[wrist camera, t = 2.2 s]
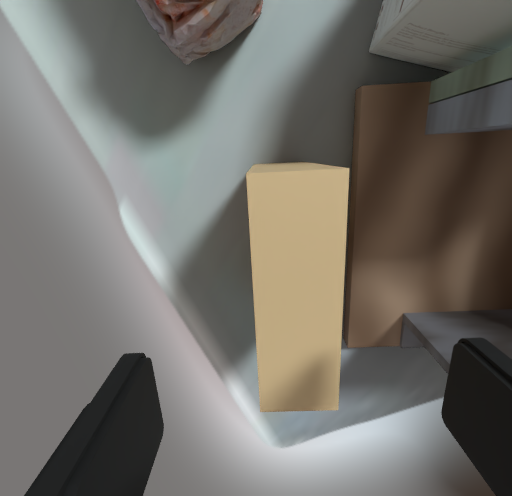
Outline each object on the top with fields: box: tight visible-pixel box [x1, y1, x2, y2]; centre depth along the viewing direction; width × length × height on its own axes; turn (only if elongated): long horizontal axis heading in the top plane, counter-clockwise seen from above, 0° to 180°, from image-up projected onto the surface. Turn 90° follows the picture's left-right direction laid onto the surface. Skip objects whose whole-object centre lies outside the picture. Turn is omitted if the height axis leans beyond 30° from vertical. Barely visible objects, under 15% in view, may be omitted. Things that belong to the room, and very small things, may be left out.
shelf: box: [343, 46, 512, 373], centre depth 18 cm, size 16×22×14 cm
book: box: [246, 162, 349, 412], centre depth 19 cm, size 4×12×13 cm, turn 3°
